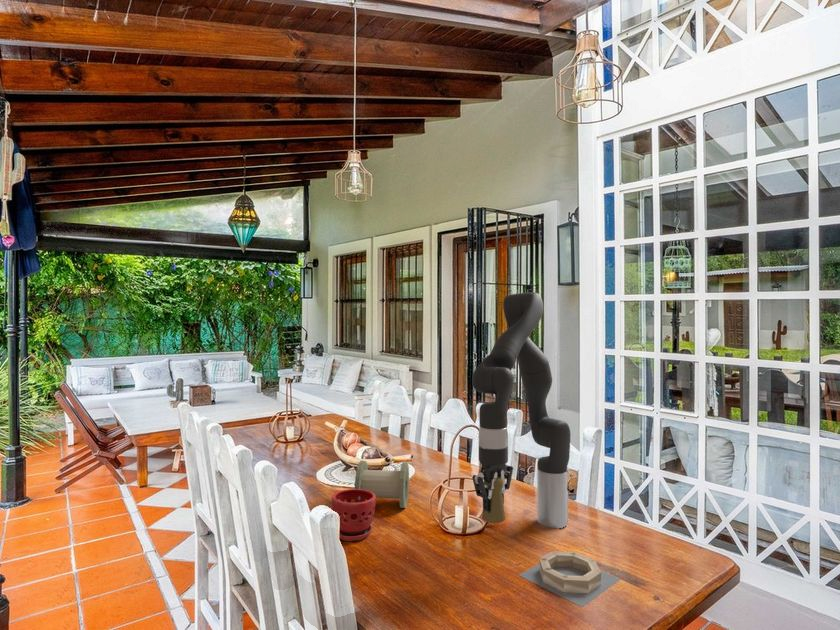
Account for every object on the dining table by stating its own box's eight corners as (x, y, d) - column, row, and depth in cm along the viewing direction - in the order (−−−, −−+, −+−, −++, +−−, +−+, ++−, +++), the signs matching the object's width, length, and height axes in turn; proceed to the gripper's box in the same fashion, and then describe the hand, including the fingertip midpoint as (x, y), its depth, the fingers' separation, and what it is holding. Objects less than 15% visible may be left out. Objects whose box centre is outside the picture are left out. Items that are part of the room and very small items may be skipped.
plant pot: (368, 546, 143) (368, 504, 143) (325, 542, 146) (325, 501, 146) (380, 526, 156) (380, 488, 156) (340, 523, 159) (340, 485, 158)
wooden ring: (560, 557, 136) (561, 546, 136) (609, 578, 125) (609, 566, 125) (529, 575, 126) (529, 563, 126) (579, 599, 116) (579, 587, 116)
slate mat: (558, 554, 138) (558, 552, 138) (621, 581, 125) (621, 578, 125) (518, 577, 127) (518, 575, 127) (582, 609, 113) (582, 607, 113)
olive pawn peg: (489, 511, 133) (489, 470, 133) (509, 517, 129) (509, 475, 129) (477, 518, 129) (477, 476, 128) (497, 525, 125) (497, 481, 125)
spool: (409, 498, 180) (409, 456, 180) (403, 515, 165) (403, 470, 165) (364, 496, 181) (364, 455, 181) (354, 513, 166) (354, 468, 166)
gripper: (499, 436, 136) (499, 498, 136) (463, 445, 127) (463, 512, 127) (521, 441, 131) (522, 506, 131) (485, 452, 121) (486, 522, 121)
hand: (493, 509), depth 129 cm, fingers closed on olive pawn peg, 4 cm apart
